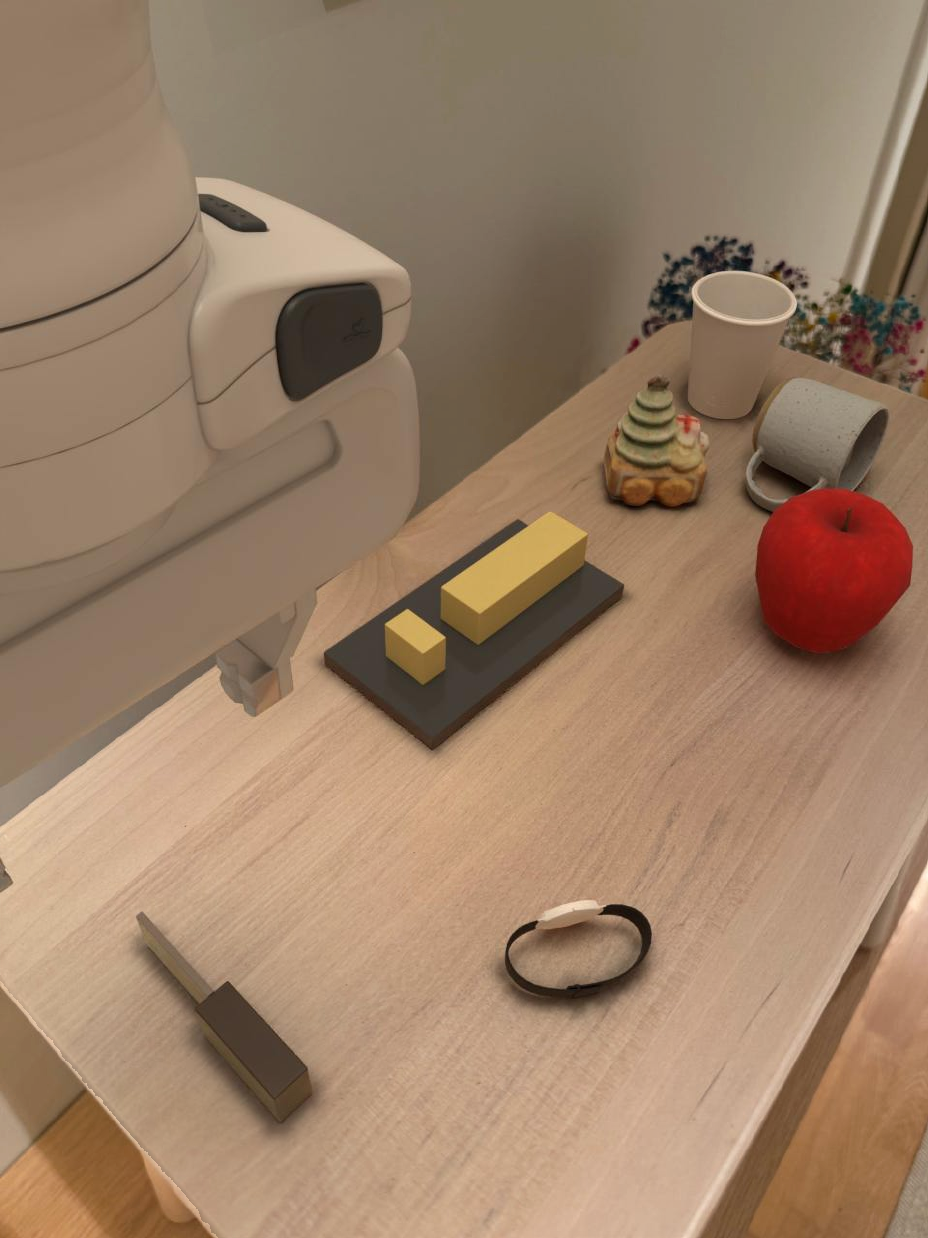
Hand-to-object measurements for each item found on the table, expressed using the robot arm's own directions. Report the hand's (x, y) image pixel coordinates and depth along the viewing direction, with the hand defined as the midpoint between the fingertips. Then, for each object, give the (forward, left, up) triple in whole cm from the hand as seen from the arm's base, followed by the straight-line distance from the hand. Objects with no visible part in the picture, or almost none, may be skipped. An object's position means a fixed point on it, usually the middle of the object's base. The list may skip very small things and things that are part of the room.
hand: (128, 783), depth 30 cm
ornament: (+52, +15, -27) cm, 60 cm away
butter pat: (+25, +14, -26) cm, 38 cm away
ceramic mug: (+61, +7, -27) cm, 67 cm away
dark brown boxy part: (+2, +5, -27) cm, 27 cm away
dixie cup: (+66, +18, -27) cm, 74 cm away
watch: (+17, -6, -27) cm, 32 cm away
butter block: (+35, +14, -26) cm, 45 cm away
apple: (+47, -2, -27) cm, 54 cm away
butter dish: (+31, +14, -27) cm, 43 cm away
